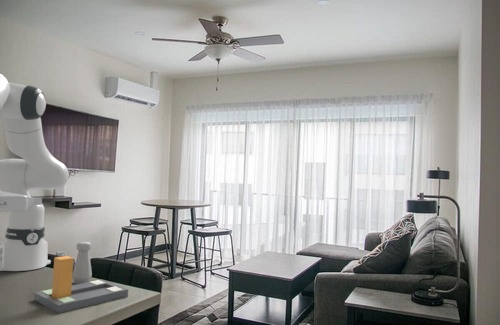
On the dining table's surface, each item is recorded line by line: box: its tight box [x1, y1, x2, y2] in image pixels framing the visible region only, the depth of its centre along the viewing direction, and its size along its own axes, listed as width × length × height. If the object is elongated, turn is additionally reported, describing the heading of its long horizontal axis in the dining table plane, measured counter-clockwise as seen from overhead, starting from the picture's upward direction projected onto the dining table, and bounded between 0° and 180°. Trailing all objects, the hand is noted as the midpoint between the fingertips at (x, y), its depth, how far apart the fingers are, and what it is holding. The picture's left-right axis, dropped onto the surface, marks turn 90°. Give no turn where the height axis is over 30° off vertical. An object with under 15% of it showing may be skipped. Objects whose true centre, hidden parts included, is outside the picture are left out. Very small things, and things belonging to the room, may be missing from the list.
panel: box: [33, 279, 129, 314], centre depth 107 cm, size 14×20×2 cm
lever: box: [51, 255, 74, 299], centre depth 103 cm, size 4×4×11 cm
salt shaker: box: [72, 241, 93, 285], centre depth 122 cm, size 6×6×13 cm
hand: (32, 199), depth 97 cm, fingers open, 8 cm apart
